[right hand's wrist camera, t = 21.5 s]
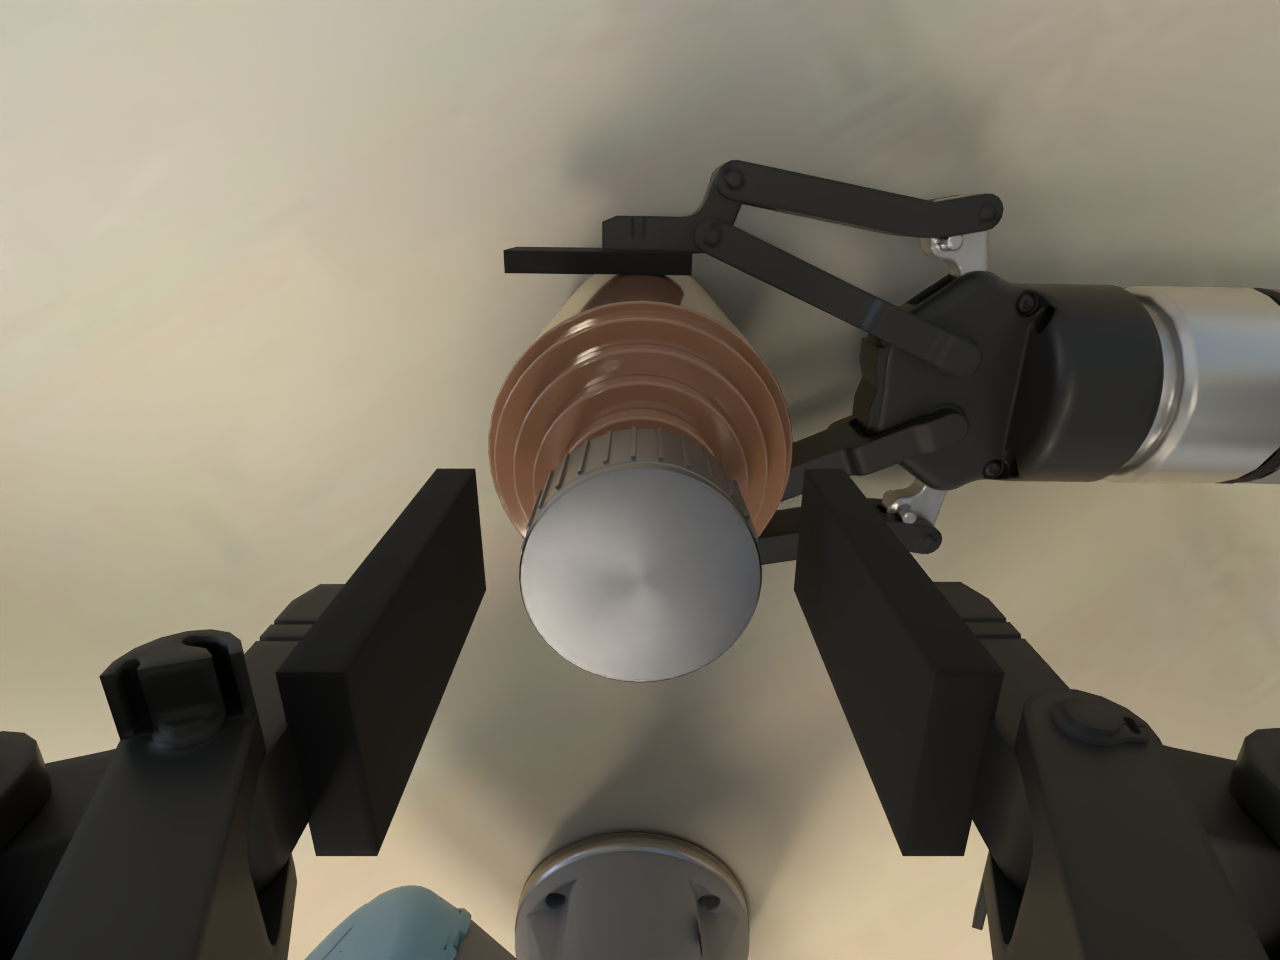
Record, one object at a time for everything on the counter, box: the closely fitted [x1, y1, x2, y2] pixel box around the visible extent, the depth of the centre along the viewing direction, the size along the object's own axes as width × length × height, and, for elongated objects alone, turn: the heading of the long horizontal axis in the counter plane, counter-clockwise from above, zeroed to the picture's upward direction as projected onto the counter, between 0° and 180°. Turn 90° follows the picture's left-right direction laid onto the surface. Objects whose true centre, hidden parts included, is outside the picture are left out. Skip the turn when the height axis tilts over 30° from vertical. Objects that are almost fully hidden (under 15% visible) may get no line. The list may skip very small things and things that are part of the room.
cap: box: [519, 427, 762, 682], centre depth 13 cm, size 4×4×2 cm
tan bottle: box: [488, 274, 793, 539], centre depth 23 cm, size 8×8×22 cm
